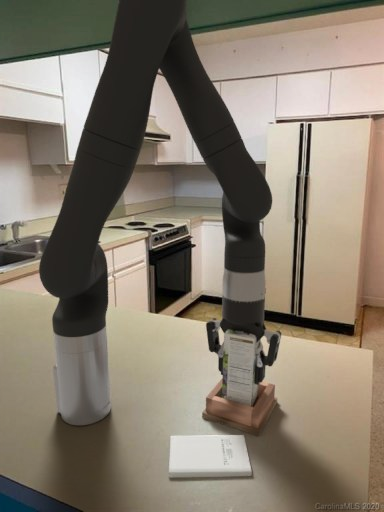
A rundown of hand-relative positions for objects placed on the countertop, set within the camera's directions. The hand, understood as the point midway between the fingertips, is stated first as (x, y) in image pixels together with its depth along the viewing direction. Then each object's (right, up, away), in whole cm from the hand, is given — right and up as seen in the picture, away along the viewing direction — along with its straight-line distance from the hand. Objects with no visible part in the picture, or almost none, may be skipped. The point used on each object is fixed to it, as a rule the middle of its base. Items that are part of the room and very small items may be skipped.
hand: (241, 377), depth 72 cm
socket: (0, -7, +2) cm, 7 cm away
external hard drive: (-7, -10, -10) cm, 16 cm away
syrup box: (0, -5, +1) cm, 5 cm away
